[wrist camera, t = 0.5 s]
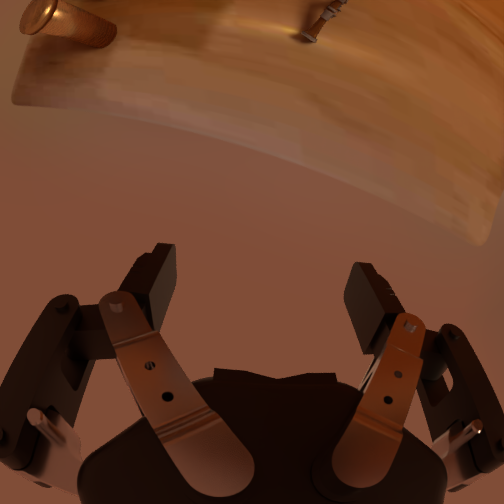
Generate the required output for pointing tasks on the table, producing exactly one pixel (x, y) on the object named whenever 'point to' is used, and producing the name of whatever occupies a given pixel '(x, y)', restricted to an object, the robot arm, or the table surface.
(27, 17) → the bushing
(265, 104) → the table surface
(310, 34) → the brown turned rod
